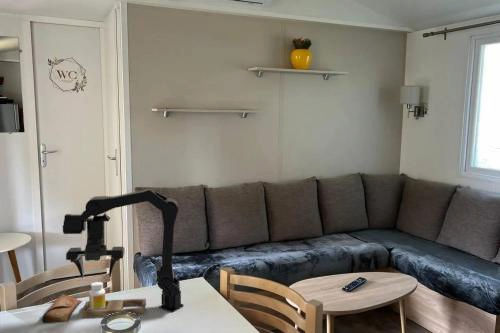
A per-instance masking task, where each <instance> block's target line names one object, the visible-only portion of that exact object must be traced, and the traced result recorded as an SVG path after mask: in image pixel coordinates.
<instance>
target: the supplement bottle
mask: <svg viewBox="0 0 500 333" xmlns="http://www.w3.org/2000/svg"><path fill="white" fill-rule="evenodd" d="M105 300H106V290H105V289H104V283H103V282H101V281H96V282H93V283H91V284H90V290H89V291H88V301H89V308H88V310H105Z"/></svg>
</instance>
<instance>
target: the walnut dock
mask: <svg viewBox="0 0 500 333" xmlns="http://www.w3.org/2000/svg"><path fill="white" fill-rule="evenodd" d="M146 305H147V298H130V299H126V298H125V299H111V300H110V299H109V300H106V299H105V310H89V300H88V301H87V300H86V301H85V303H84V305H83V308H82V310H81V311H80V313H81V314H80V318H100V317H108V316H107V315H109V314H112V313H116V312H131V313H135V314H137V315H136V316H139V315H142V316H143V315H145V311H146V307H147V306H146ZM126 306H127V307H128V306H130V307H131V306H141V307H137V308H136V307H134V308H133V307H132V308H124V307H126Z"/></svg>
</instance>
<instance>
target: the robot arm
mask: <svg viewBox="0 0 500 333" xmlns="http://www.w3.org/2000/svg"><path fill="white" fill-rule="evenodd" d="M146 202H148V203H150V204H151V205H152V206H154V208H156V209H158V210H159V211H161V217H162V222H163V234H162V235H163V236H162V250H161V251H162V252H161V255H162V256H161V262H160V263H161V264H160V265H156V269H155V270H156V275H155V283H157V287H158V288H159V289H160V290H161V294H160V295H161V305H160V306H159V309H162V310H165V311H167V312H168V311H169V312H171V313H174V312H175V311H178V310H179V309H181V308H182V307H184V304H183V303H182V291H181V290H180V288H181V285H180V284H181V283H180V280H179V279H178V278H177V277H175V274H174V267H173V252H174V251H173V250H174V248H173V246H174V231H175V229H174V228H175V225H176V221H177V216H178V213H179V207H178V204H179V203H178V201H177V200H176V199H174V198H168V197H166V196H164V195H163V194H161V193H159V192H157V191H155V190H154V189H153V188H145V189H143V190H138V191H133V192H130V193H124V194H119V195H113V196H108V195H100V196H96V195H95V196H93V197H91V198H90V199H89V200H88V201H87V202H86V203H85V208H84V209H85V210H83V211H82V212H81V214H71V213H66V214H64V219H63V225H62V233H63V235H82V234H83V232H85V231H86V244H85V248H84V250H82V247H70V248H69V249H68V250H67V252H66V253H65V260H66V261H70V263H73V264H75V265H76V268H77V270H78V272H79V275H80V278H82V279H83V278H84V276H85V275H84V274H85V273H84V272H85V271H84V260H85V261H86V262H90V261H95V262H98V261H100V260H101V257H105V256H110V259H109V260H110V261H109V262H110V263H109V268H108V269H109V270H108V278H111V277H112V273H113V271H114V267H115V264H116V262H118V261H120V260H121V259H124V256H125V255H126V254H125V253H126V252H125V251H126V250H125V246H112V248H111V249H108V248H107V245H106V244H105V242H106V241H105V222H109V221H110V220H111V216H110V215H108V214H107V212H109V211H111V210H114V209H117V208H120V207H126V206H130V205H131V206H132V205H136V204H140V203H146ZM102 214H103V215H102ZM83 257H84V258H83Z"/></svg>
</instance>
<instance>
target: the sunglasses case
mask: <svg viewBox="0 0 500 333" xmlns="http://www.w3.org/2000/svg"><path fill="white" fill-rule="evenodd" d="M81 303H83V301H82V300H80V299H77V298H74V297H71V296H69V295H66V294H64V293H61V294H60V295H59V296H58V297H57V298H56V299H55V301H54V302H52V304H51V305H50V306H49V308H48V309H47V310H46V311H45V313H44V314H43V316H42V319H41V321H42V322H43V323H44V324H53V323H68V322H69V320H70V317H71V316H72V315H73V313H74V312H75V310H76V309H77V308H78V306H79V305H80V304H81Z"/></svg>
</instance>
